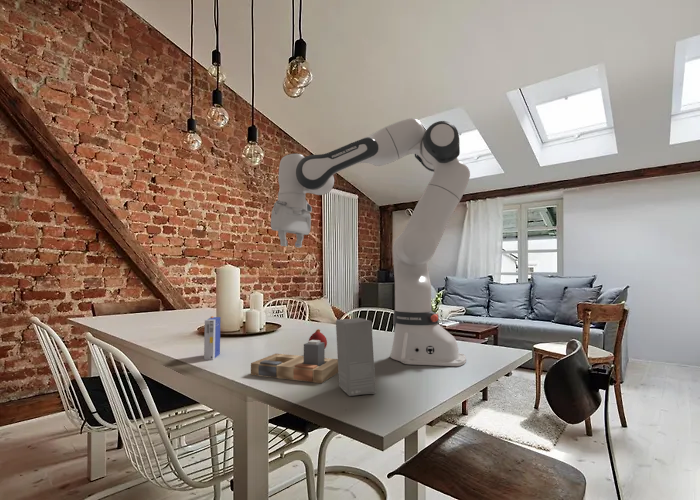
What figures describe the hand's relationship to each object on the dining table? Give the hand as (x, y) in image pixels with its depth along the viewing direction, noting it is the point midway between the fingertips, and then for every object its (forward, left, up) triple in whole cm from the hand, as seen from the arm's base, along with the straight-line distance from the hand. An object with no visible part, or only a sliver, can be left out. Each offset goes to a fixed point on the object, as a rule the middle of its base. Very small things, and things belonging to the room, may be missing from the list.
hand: (291, 246), depth 127 cm
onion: (-9, -1, -34) cm, 35 cm away
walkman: (+20, +13, -34) cm, 42 cm away
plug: (-18, +20, -34) cm, 43 cm away
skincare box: (-32, +28, -34) cm, 55 cm away
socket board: (-13, +20, -34) cm, 42 cm away
